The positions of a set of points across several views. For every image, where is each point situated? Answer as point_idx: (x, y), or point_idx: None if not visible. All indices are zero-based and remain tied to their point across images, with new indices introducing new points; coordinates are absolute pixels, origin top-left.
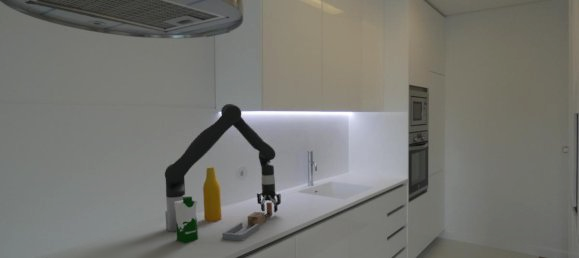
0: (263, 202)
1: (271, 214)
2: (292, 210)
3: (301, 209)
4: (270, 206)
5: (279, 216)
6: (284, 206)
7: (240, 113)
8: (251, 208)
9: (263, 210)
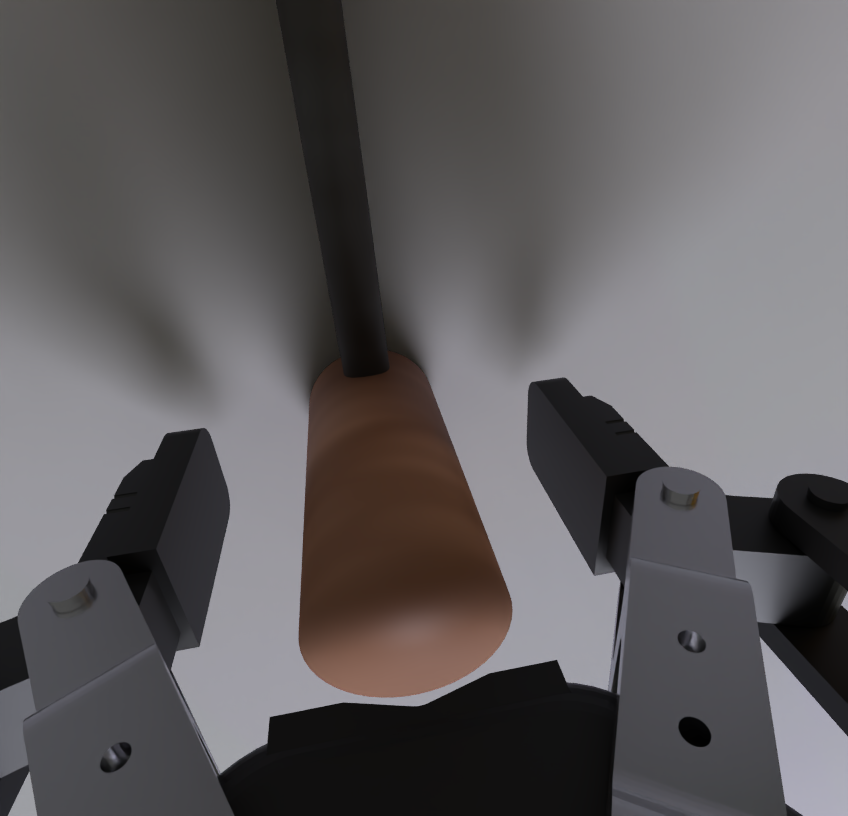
0: (630, 555)
1: (310, 397)
2: None
3: (25, 810)
4: (312, 511)
5: (41, 364)
6: None
7: None
8: None
9: (537, 405)
